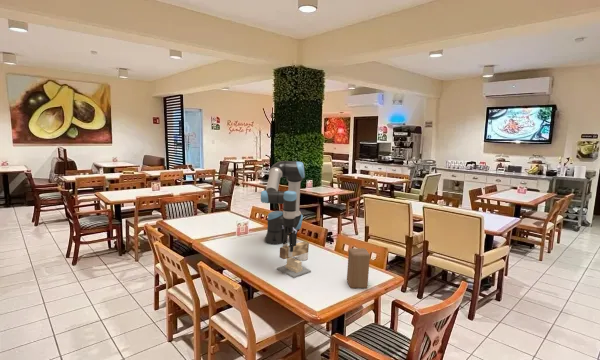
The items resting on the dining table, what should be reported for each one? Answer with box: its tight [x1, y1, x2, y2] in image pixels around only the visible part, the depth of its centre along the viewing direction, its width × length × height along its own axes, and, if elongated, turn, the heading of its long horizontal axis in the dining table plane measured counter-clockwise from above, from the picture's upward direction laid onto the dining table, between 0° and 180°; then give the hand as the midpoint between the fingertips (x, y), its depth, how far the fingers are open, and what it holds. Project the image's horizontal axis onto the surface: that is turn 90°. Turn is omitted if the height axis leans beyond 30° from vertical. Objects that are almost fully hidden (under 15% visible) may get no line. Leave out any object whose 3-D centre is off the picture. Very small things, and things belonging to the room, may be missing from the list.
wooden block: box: [346, 247, 371, 289], centre depth 189 cm, size 10×10×20 cm
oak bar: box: [279, 241, 310, 260], centre depth 203 cm, size 20×4×6 cm, turn 133°
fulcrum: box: [276, 257, 312, 279], centre depth 205 cm, size 14×16×7 cm
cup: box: [293, 241, 309, 262], centre depth 224 cm, size 8×12×10 cm
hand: (287, 255), depth 200 cm, fingers closed on oak bar, 4 cm apart
